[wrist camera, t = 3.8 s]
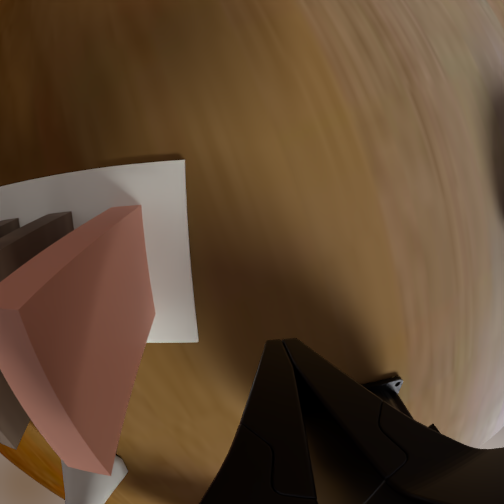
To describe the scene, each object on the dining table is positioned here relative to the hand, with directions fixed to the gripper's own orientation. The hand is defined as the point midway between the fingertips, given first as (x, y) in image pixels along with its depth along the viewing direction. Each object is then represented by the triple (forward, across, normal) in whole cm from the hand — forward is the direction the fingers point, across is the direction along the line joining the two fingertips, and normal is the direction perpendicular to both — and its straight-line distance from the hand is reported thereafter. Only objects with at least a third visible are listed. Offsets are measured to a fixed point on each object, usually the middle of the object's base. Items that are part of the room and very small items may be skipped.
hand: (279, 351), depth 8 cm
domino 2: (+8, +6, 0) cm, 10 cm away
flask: (+8, +16, +21) cm, 28 cm away
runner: (+8, +14, 0) cm, 16 cm away
